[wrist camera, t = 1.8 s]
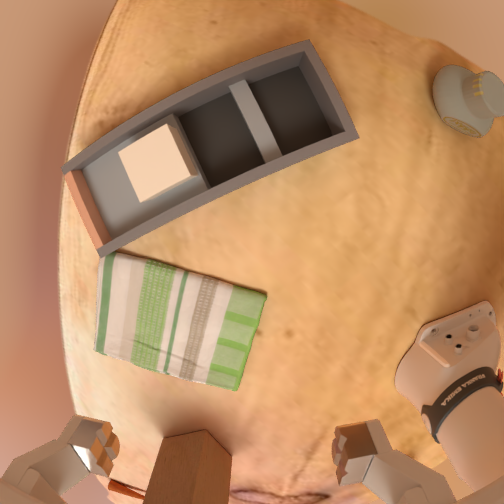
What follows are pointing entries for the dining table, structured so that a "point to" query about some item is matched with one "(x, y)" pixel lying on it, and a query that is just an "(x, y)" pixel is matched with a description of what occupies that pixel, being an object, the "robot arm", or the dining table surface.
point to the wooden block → (190, 471)
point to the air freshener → (468, 99)
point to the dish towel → (174, 320)
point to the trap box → (213, 141)
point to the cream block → (157, 163)
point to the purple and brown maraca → (124, 490)
